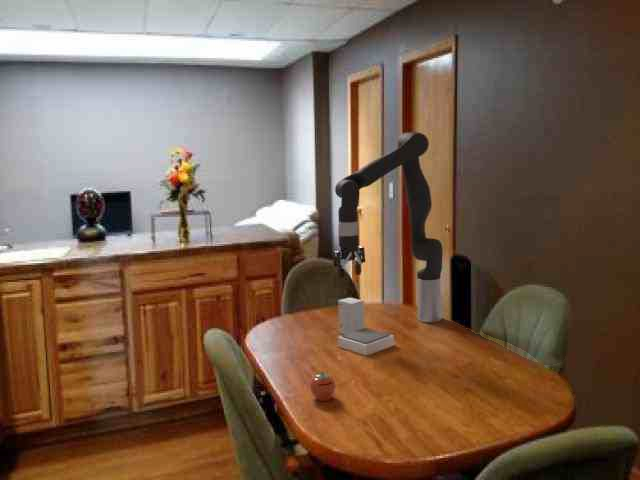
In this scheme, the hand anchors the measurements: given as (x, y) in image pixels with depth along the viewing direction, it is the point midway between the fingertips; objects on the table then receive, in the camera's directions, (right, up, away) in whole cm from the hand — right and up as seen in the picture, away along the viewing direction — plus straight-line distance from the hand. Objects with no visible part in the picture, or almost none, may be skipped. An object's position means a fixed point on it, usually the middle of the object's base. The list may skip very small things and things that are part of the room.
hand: (350, 276), depth 216 cm
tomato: (-10, -31, -54) cm, 63 cm away
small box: (+1, -22, +3) cm, 22 cm away
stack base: (+5, -24, -12) cm, 27 cm away
